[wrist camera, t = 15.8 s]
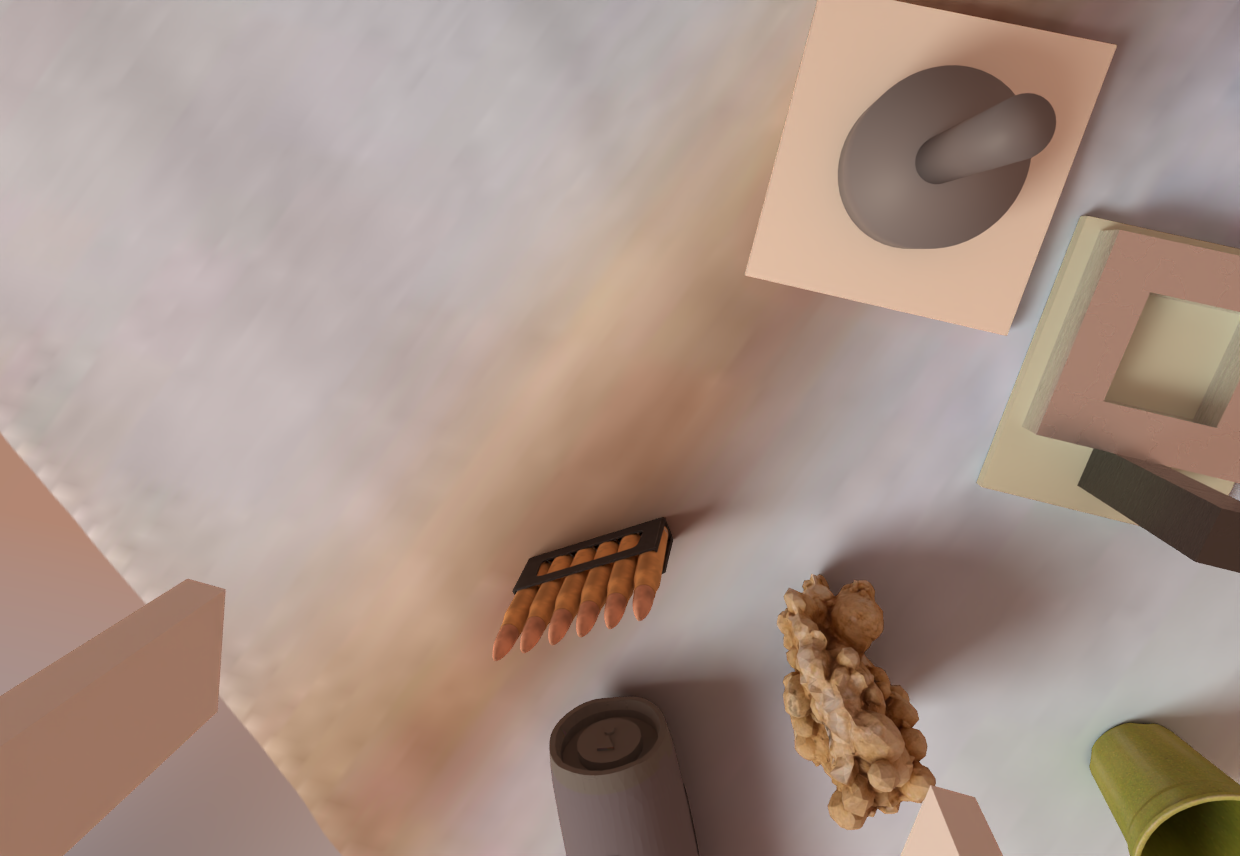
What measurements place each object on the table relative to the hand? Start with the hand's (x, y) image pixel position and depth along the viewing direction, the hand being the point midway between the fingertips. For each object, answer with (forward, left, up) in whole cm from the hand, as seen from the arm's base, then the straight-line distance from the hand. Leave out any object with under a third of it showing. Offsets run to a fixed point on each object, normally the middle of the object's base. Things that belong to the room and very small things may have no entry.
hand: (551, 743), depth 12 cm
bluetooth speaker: (+34, +6, -35) cm, 49 cm away
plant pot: (+18, +38, -35) cm, 55 cm away
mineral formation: (+15, +15, -35) cm, 41 cm away
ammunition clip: (+13, -2, -35) cm, 37 cm away
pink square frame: (-7, +28, -34) cm, 45 cm away
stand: (-16, +11, -35) cm, 40 cm away
